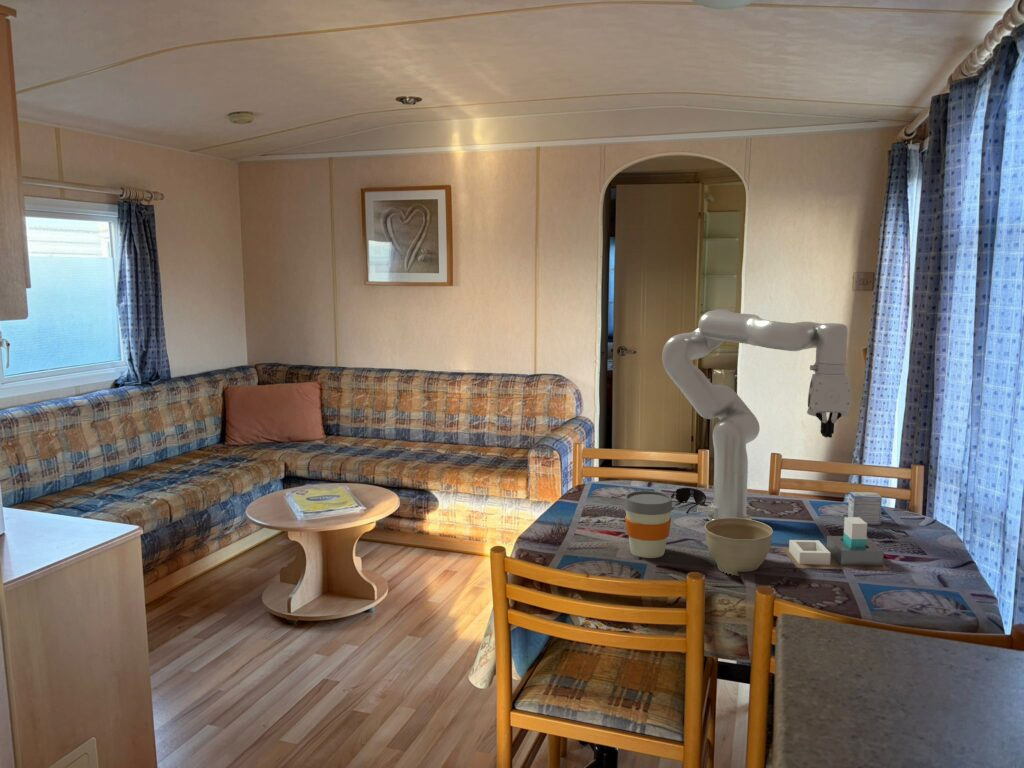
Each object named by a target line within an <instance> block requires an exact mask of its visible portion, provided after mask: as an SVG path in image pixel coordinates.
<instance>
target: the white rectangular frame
mask: <svg viewBox="0 0 1024 768" xmlns="http://www.w3.org/2000/svg"><path fill="white" fill-rule="evenodd" d="M788 543H789V544H788V547H789V552H790V553H791V554H792V555H793V557H794V558H795V559H796V560H797V562H798V563H799V564H825V565H830V555H831V553H830V552H829V551H828V550H827V549H826V548H827V547H826V546H825V545H824V544H823V543H822V542H821V541H820V540H818V539H817V540H816V539H815V540H812V539H811V540H809V539H789V542H788Z"/></svg>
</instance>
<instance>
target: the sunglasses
mask: <svg viewBox="0 0 1024 768" xmlns="http://www.w3.org/2000/svg"><path fill="white" fill-rule="evenodd" d="M691 495H692V497H693V500H694V502H695V504H694V505H692V506H690V507H689V509H687V511H686V512H685V513H686V514H689V512H690V510H691V509H693V508H695V507H697V506H705V504H706V501H707V496H706V494H705V493H704V492H703V491H701V490H700V489H697V488H693V487H680V488H677V489H676V490H675V491H674V492H673V493H672V494H671V495H670V497H671V499H673V498H674V497H675V499H676V500H677V501H678V502H680V501H686V502H685V503H687V502H688V501H689V500H690V498H691ZM699 504H700V505H699Z"/></svg>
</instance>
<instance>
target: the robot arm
mask: <svg viewBox="0 0 1024 768" xmlns="http://www.w3.org/2000/svg"><path fill="white" fill-rule="evenodd" d="M697 325H698V327H697V328H695V329H694V330H693V331H691V332H683V333H679V334H676V335H673V336H671V337H670V338H669V339H668V340H667V341H666V342H665V344H664V346H663V349H662V351H661V353H662V354H661V361H662V365H663V368H664V370H665V372H666V374H667V376H668V377H669V378H670V379H671V381H672V382H673V383H674V385H675V386H676V387H677V388H678V389H679V391H681V393H682V395H683V396H684V397H685V399H686V400H687V401H688V403H690V405H691V406H692V407H693V409H694V410H695V411H696V413H697V414H698V415H699V416H700V417H702V418H703V419H706V420H714V419H715V418H717V419H718V420H719V421H718V422H716V424H715V425H714V427H713V431H712V444H713V451H714V452H713V453H714V457H713V458H714V459H713V460H714V464H713V465H714V466H713V467H714V468H713V474H714V475H713V502H712V501H711V502H710V504H708V505H707V506H705V505H697V506H696V511H697V512H696V513H702V515H707V519H708V522H709V521H711V520H714V519H719V518H743V519H750V520H752V517H751V515H749V514H747V503H748V502H747V499H748V477H749V475H748V473H749V472H748V471H749V470H748V469H749V465H748V464H749V462H748V461H749V460H748V453H747V452H748V451H747V444H749V443H751V442H753V441H754V440H755V439H757V437H758V436H759V434H760V423H759V420H758V418H757V417H756V415H755V414H754V413H753V411H752V410H751V409H750V408H749V406H748V405H747V404H746V403H745V402H744V401H743V399H742V398H741V397H740V396H739V395H738V394H737V392H736V391H735V390H734V389H732V387H730V386H728V385H725V384H714V383H712V382H711V381H710V380H709V378H708V377H707V376H706V375H705V373H704V372H703V371H702V370H701V369H699V367H697V366H696V365H695V364H694V363H693V362H692V361H694V360H699V359H701V358H703V357H706V356H707V355H709V354H710V353H711V352H713V351H714V350H715V349H716V348H718V347H719V346H721V345H722V344H723V343H725V342H730V343H739V344H745V345H751V346H755V347H756V346H757V347H760V348H767V349H770V350H771V349H772V350H773V349H774V350H779V351H787V352H799V351H802V350H809V349H815V362H814V364H812V365H810V366H809V370H810V371H813V372H814V373H812V375H811V378H810V382H809V389H808V393H807V395H808V396H807V407H808V408H807V410H806V414H807V415H809V416H813V417H816V418H817V419H818V420H819V422H820V431H819V432H820V434H821V436H822V437H824V438H831V439H832V437H833V435H834V432H835V423H836V422H837V421H838V420H839V419H840V418H841V417H846V416H849V415H850V410H851V407H852V406H851V405H852V396H851V394H852V393H851V391H852V390H851V381H850V375H848V374H846V371H847V370H846V369H847V367H846V366H847V353H848V352H847V351H848V349H847V348H848V335H849V334H848V333H849V332H848V330H849V329H848V326H847V325H846V324H844V323H836V322H835V323H834V322H833V323H831V322H829V323H826V322H825V323H821V322H820V323H819V322H813V321H798V322H782V321H775V320H769V319H763V318H761V317H760V316H759V315H756V314H751V313H742V312H741V313H739V312H733V311H731V310H729V309H728V310H727V309H714V310H709V311H707V312H705V313H704V314H702V315H701V316H700V318H699V321H698V323H697ZM827 413H828V417H827Z"/></svg>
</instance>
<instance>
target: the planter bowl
mask: <svg viewBox="0 0 1024 768" xmlns="http://www.w3.org/2000/svg"><path fill="white" fill-rule="evenodd" d="M704 532H705V541H706V546H707V549H708V551H709V553H710V555H711V557H712V559H713V560H714V561H715V563H716V564H717V568H718V570H719V571H720V572H721V573H723V572H724V574H726V573H727V575H729V574H731V575H730V576H734V575H735V576H734V577H736V576H737V577H740V573H739V572H741V573H745V572H753V571H756V570H758V568H760V566H761V565H762V564H763V563H764V561H765V560H766V558H767V556H768V554H769V552H770V550H771V549H770V548H771V545H772V538H773V535H774V533H773V532H774V530H773V528H772V527H771V526H769V525H768V524H766V523H764V522H761V521H757V520H755V519H754V520H753V519H751V520H750V519H743V518H719V519H714V520H711V521H709V520H708V521H707V522H706V523H705V524H704Z"/></svg>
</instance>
